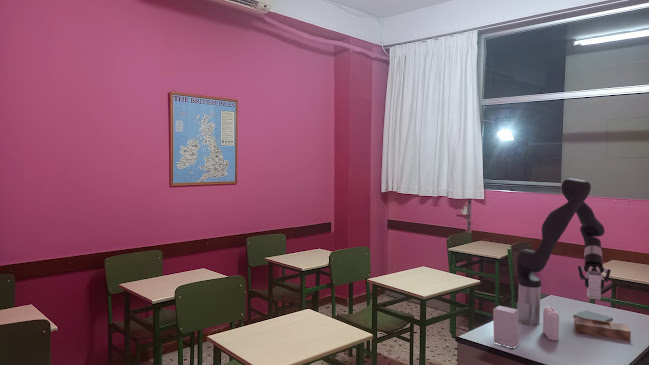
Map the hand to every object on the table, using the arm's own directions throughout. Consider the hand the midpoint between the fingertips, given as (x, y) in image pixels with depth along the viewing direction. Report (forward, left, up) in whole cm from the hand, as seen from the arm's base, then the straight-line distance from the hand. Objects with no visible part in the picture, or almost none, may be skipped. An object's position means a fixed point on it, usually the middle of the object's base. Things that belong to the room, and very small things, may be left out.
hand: (594, 287), depth 211 cm
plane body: (-15, -10, -15) cm, 23 cm away
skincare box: (-61, +5, -15) cm, 63 cm away
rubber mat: (+1, +1, -15) cm, 15 cm away
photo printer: (-37, 0, -15) cm, 40 cm away
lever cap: (+2, +1, -5) cm, 5 cm away
